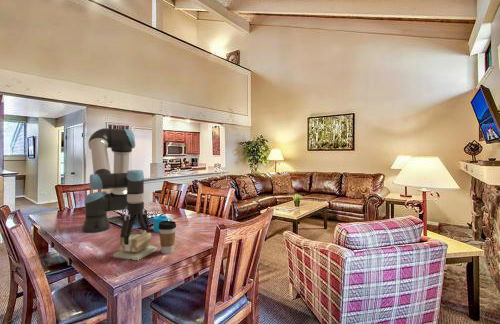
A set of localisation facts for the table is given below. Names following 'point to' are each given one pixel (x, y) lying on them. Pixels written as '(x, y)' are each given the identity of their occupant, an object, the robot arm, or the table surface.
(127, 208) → the robot arm
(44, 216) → the table surface
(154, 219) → the mug
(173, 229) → the coffee cup
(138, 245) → the collar
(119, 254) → the base
